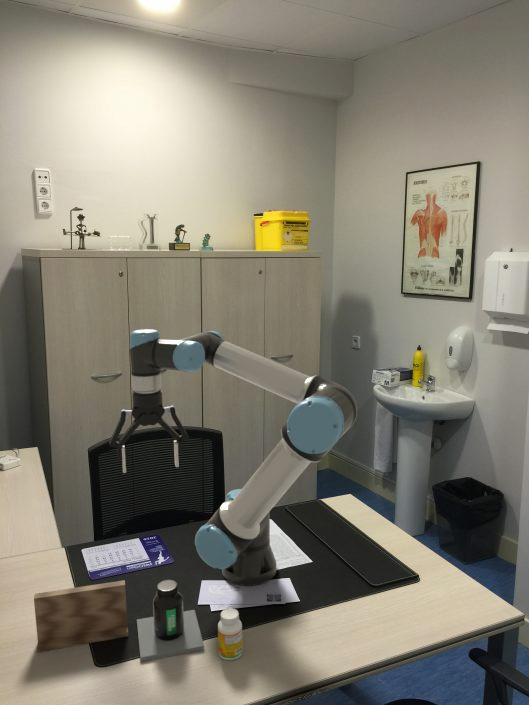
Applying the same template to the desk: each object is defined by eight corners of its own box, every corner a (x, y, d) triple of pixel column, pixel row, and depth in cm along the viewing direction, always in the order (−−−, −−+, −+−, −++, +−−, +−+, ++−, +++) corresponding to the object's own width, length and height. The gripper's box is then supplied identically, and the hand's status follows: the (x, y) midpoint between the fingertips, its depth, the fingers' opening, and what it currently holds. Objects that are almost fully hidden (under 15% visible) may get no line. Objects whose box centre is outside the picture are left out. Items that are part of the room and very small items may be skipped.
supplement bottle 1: (178, 643, 137) (176, 595, 135) (149, 639, 138) (147, 592, 136) (188, 624, 143) (186, 578, 141) (160, 621, 145) (158, 575, 142)
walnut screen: (127, 620, 147) (124, 575, 144) (128, 636, 141) (125, 589, 139) (39, 635, 142) (35, 589, 139) (37, 652, 136) (32, 603, 134)
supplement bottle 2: (218, 645, 137) (217, 606, 136) (242, 644, 138) (241, 605, 136) (218, 661, 132) (217, 621, 130) (243, 660, 132) (242, 620, 131)
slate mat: (194, 613, 149) (194, 609, 149) (204, 649, 136) (203, 645, 136) (136, 623, 146) (136, 619, 146) (140, 661, 132) (140, 657, 132)
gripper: (193, 383, 162) (195, 458, 166) (96, 390, 156) (101, 468, 160) (197, 389, 155) (200, 468, 159) (96, 397, 149) (102, 478, 152)
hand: (150, 468), depth 159 cm, fingers open, 13 cm apart
